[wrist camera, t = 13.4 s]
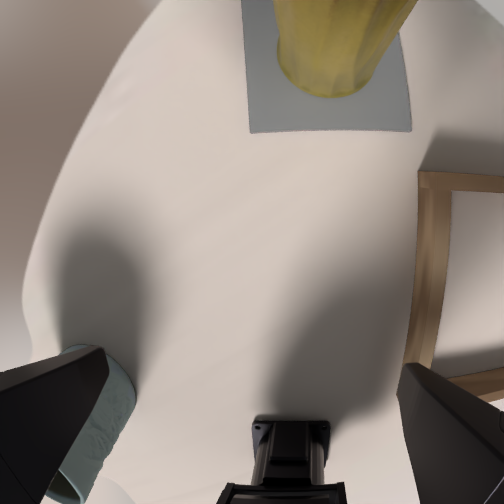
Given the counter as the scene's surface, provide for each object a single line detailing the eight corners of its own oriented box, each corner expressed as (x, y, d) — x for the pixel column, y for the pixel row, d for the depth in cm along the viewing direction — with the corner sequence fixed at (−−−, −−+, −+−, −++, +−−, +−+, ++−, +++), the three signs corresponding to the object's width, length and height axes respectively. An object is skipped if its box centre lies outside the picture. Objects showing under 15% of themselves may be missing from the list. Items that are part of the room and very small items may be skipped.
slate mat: (408, 132, 18) (411, 131, 17) (251, 133, 19) (249, 132, 19) (387, -1, 15) (389, -5, 15) (242, -1, 17) (240, -5, 16)
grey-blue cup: (152, 370, 25) (79, 473, 13) (137, 437, 27) (86, 523, 16) (57, 319, 25) (-34, 385, 14) (57, 392, 28) (-7, 458, 16)
